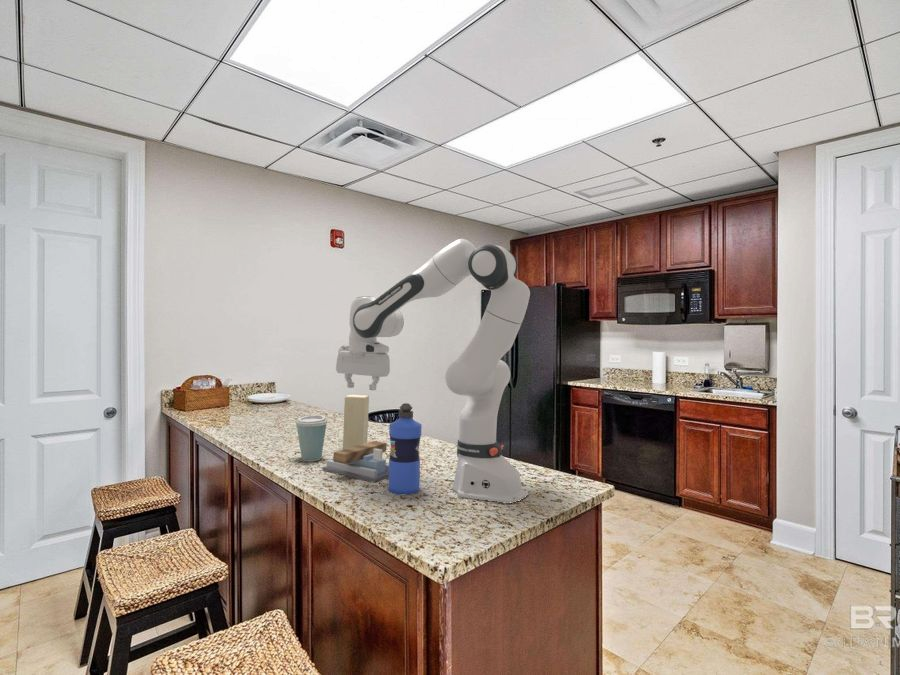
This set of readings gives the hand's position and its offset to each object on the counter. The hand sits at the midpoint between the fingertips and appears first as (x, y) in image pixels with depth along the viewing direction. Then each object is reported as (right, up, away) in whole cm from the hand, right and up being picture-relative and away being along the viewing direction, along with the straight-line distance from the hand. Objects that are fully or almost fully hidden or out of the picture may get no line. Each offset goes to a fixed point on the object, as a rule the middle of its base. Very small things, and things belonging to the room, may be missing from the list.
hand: (361, 388), depth 153 cm
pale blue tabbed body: (-1, -26, 0) cm, 26 cm away
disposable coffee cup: (-21, -27, +14) cm, 36 cm away
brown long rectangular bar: (0, -22, +1) cm, 22 cm away
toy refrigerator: (-8, -27, +29) cm, 41 cm away
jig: (-1, -27, 0) cm, 27 cm away
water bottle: (+15, -28, -16) cm, 36 cm away
